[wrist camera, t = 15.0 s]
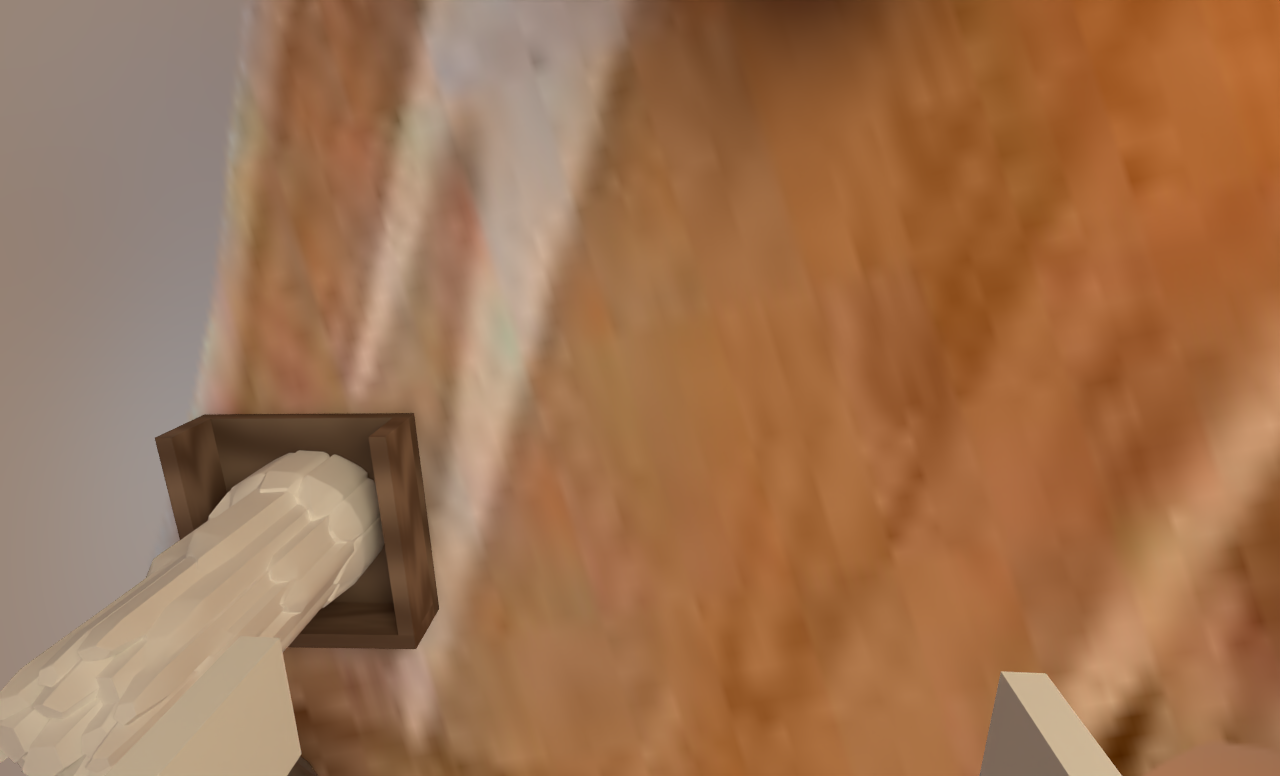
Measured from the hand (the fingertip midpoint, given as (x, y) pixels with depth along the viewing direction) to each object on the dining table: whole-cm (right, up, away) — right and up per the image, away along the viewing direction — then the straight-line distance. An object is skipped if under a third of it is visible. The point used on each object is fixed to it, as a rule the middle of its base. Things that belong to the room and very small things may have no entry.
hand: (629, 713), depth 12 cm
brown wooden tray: (-25, -4, +40) cm, 47 cm away
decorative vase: (-25, -4, +39) cm, 46 cm away
